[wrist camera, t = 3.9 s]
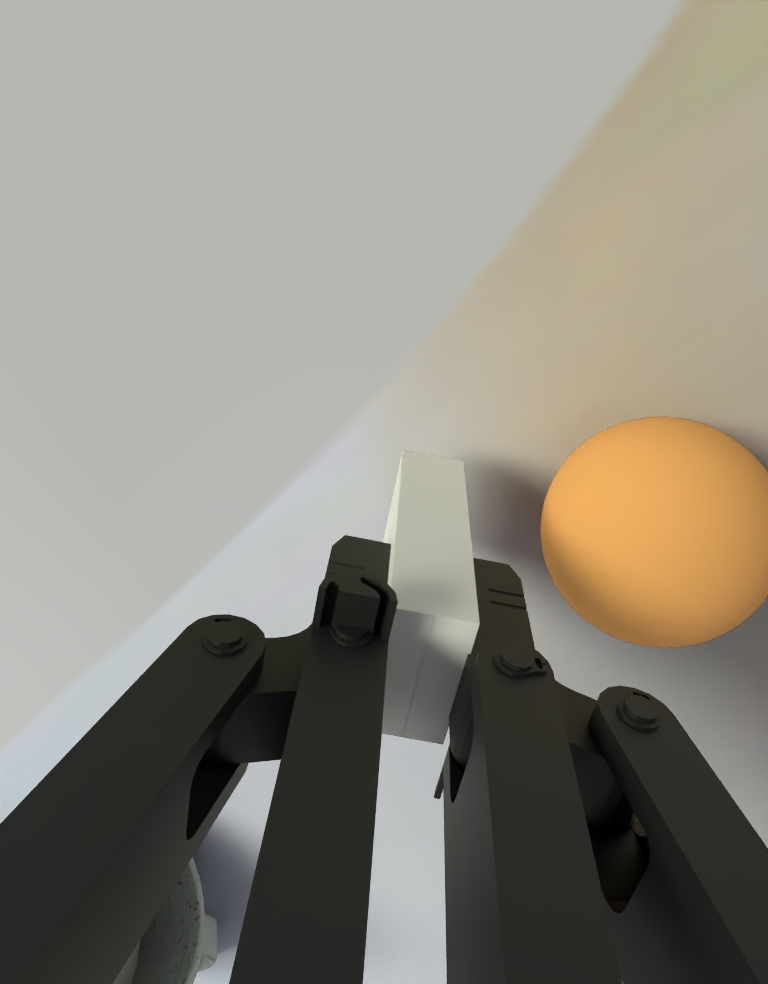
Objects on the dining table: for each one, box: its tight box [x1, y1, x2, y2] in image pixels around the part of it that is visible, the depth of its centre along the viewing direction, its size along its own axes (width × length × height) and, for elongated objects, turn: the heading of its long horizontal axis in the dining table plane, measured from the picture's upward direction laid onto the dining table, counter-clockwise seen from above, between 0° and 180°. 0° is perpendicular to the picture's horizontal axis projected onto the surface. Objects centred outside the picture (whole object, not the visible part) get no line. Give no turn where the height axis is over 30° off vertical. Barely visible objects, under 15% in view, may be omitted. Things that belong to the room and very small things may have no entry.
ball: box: [540, 417, 768, 648], centre depth 18 cm, size 6×6×6 cm
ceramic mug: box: [113, 857, 218, 984], centre depth 26 cm, size 10×8×7 cm
